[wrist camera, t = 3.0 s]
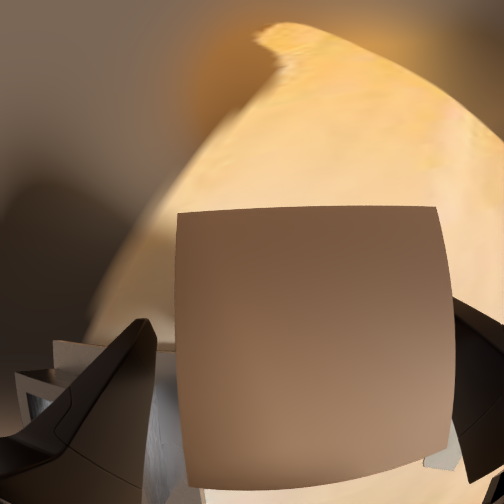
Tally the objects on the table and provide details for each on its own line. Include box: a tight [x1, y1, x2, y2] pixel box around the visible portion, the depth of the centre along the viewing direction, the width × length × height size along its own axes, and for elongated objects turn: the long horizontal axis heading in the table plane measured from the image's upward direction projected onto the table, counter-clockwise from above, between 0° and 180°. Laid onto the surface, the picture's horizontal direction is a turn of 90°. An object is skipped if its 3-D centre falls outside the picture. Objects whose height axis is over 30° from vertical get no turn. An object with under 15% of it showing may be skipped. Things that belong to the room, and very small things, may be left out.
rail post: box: [175, 206, 455, 491], centre depth 9 cm, size 4×4×12 cm
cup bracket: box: [15, 340, 206, 504], centre depth 11 cm, size 14×10×5 cm
